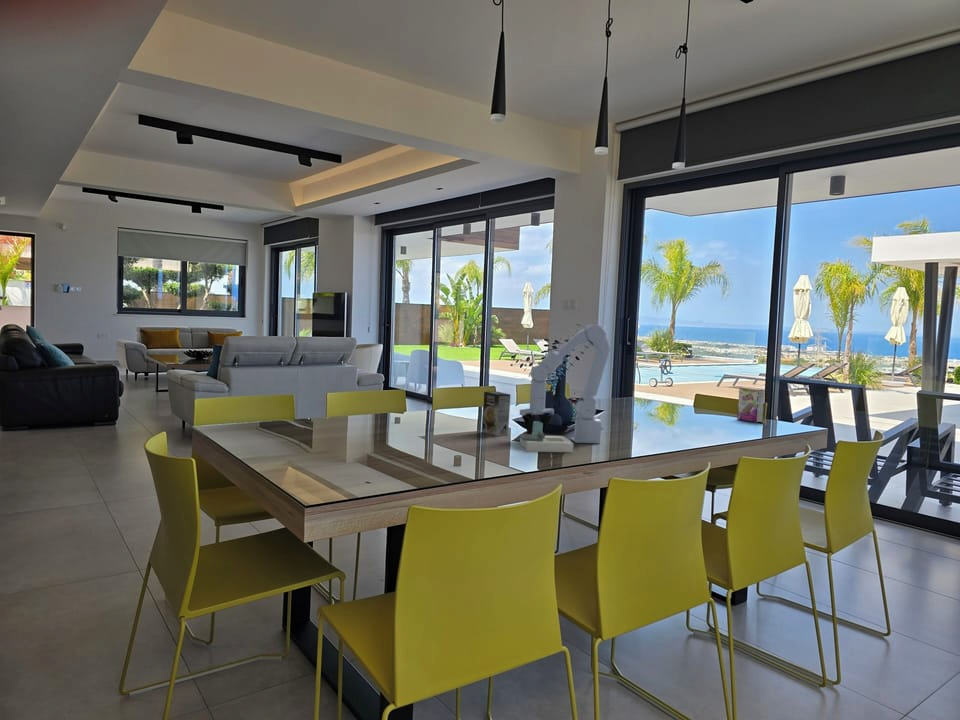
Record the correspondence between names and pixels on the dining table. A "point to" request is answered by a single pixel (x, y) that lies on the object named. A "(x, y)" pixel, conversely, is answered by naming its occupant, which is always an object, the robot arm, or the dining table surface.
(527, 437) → the shutter
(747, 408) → the candy bar box
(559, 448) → the socket plate
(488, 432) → the coffee box
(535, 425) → the plug
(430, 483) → the dining table surface
